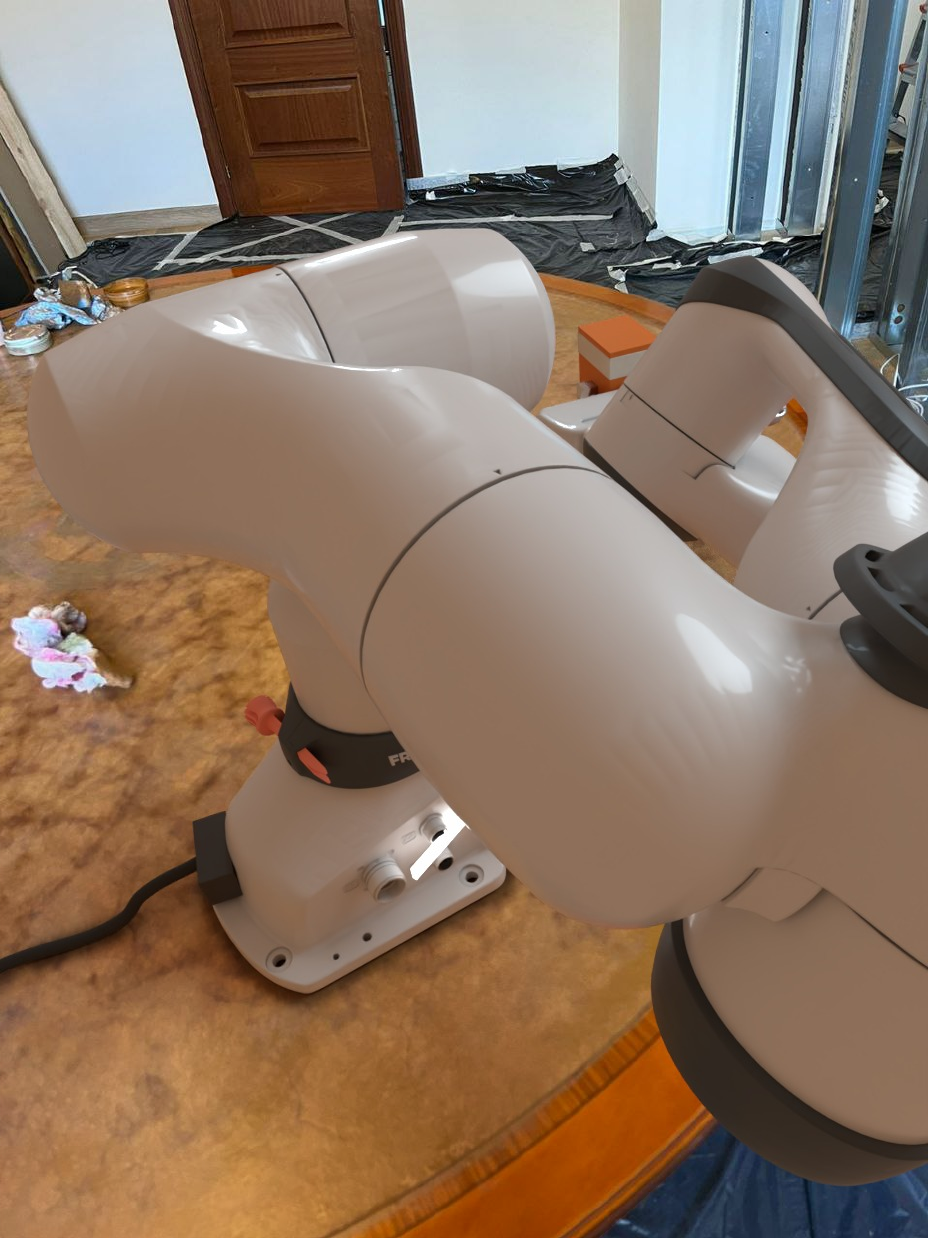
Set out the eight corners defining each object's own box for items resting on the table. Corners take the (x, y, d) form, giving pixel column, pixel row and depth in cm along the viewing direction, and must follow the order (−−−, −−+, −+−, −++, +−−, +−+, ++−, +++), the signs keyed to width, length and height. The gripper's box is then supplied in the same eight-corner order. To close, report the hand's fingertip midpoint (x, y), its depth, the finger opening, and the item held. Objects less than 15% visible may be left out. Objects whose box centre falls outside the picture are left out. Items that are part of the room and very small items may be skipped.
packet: (609, 464, 81) (609, 353, 74) (580, 432, 86) (577, 325, 79) (658, 451, 82) (663, 340, 75) (626, 420, 87) (627, 313, 80)
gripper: (803, 380, 70) (715, 324, 80) (571, 440, 67) (511, 374, 77) (792, 448, 74) (710, 386, 85) (574, 508, 71) (516, 436, 81)
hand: (614, 381), depth 81 cm, fingers closed on packet, 5 cm apart
